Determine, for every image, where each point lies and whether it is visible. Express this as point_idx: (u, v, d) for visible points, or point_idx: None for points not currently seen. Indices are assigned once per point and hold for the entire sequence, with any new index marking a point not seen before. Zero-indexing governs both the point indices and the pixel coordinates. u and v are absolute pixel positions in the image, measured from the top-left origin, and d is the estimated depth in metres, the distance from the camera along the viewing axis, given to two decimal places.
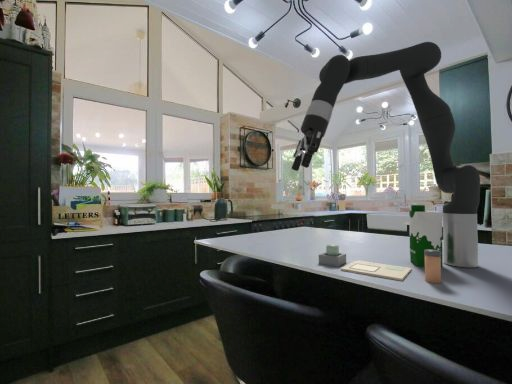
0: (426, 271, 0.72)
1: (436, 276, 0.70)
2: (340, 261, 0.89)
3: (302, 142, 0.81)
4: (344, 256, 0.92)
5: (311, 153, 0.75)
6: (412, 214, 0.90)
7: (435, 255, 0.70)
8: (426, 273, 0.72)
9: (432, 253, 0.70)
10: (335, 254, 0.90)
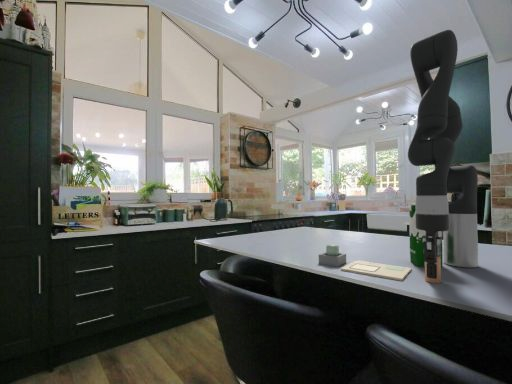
0: (426, 271, 0.72)
1: None
2: (340, 261, 0.89)
3: None
4: (344, 256, 0.92)
5: (432, 264, 0.69)
6: (412, 214, 0.90)
7: None
8: (426, 273, 0.72)
9: None
10: (335, 254, 0.90)
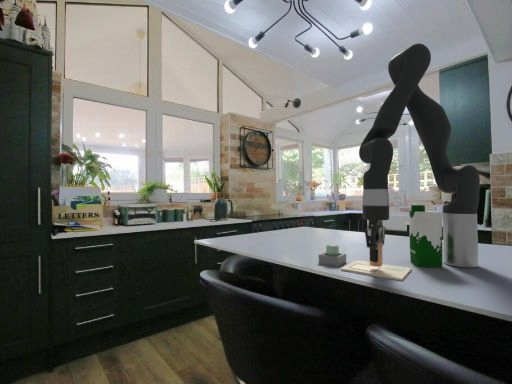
0: None
1: None
2: (340, 261, 0.89)
3: None
4: (344, 256, 0.92)
5: (373, 249, 0.79)
6: (412, 214, 0.90)
7: None
8: None
9: None
10: (335, 254, 0.90)
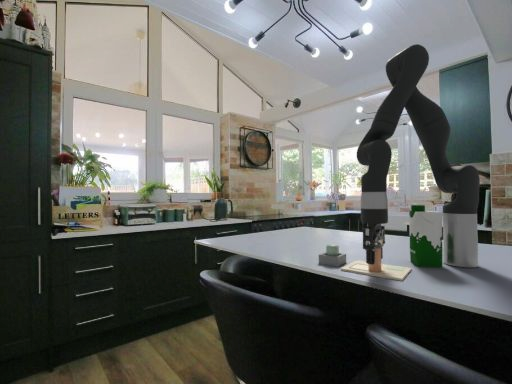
0: None
1: (376, 266, 0.78)
2: (340, 261, 0.89)
3: None
4: (344, 256, 0.92)
5: (369, 250, 0.76)
6: (412, 214, 0.90)
7: (375, 247, 0.78)
8: None
9: None
10: (335, 254, 0.90)
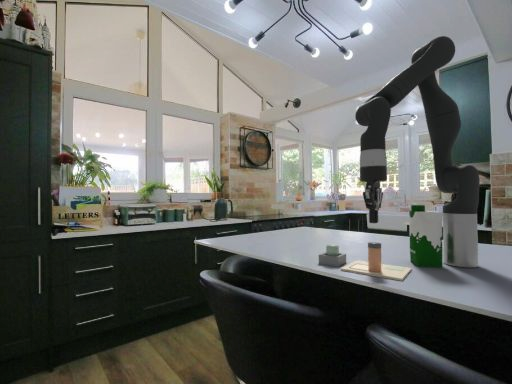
0: (369, 261, 0.80)
1: (376, 266, 0.78)
2: (340, 261, 0.89)
3: None
4: (344, 256, 0.92)
5: (372, 210, 0.79)
6: (412, 214, 0.90)
7: (375, 247, 0.78)
8: (369, 263, 0.80)
9: (373, 245, 0.79)
10: (335, 254, 0.90)
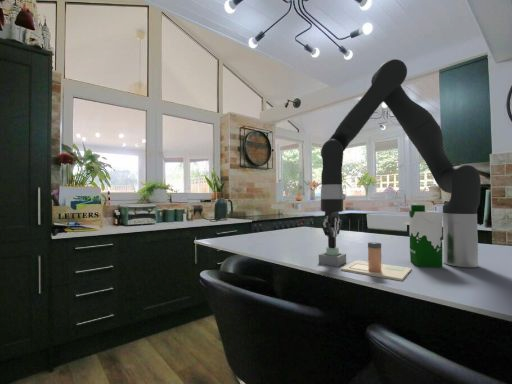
0: (369, 261, 0.80)
1: (376, 266, 0.78)
2: (340, 261, 0.89)
3: None
4: (344, 256, 0.92)
5: (330, 236, 0.91)
6: (412, 214, 0.90)
7: (375, 247, 0.78)
8: (369, 263, 0.80)
9: (373, 245, 0.79)
10: None
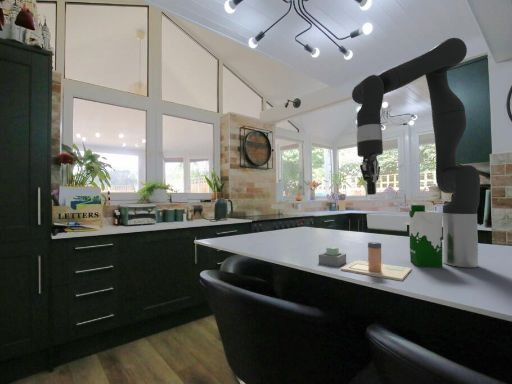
0: (369, 261, 0.80)
1: (376, 266, 0.78)
2: (340, 261, 0.89)
3: None
4: (344, 256, 0.92)
5: (370, 182, 0.84)
6: (412, 214, 0.90)
7: (375, 247, 0.78)
8: (369, 263, 0.80)
9: (373, 245, 0.79)
10: None
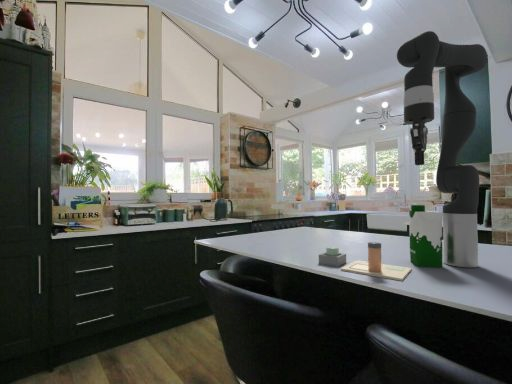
0: (369, 261, 0.80)
1: (376, 266, 0.78)
2: (340, 261, 0.89)
3: None
4: (344, 256, 0.92)
5: (419, 150, 0.75)
6: (412, 214, 0.90)
7: (375, 247, 0.78)
8: (369, 263, 0.80)
9: (373, 245, 0.79)
10: None
